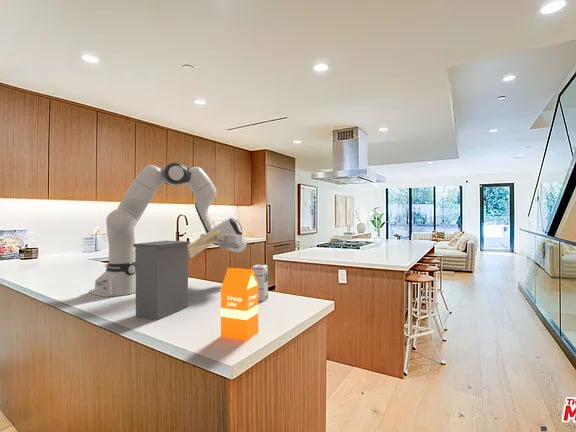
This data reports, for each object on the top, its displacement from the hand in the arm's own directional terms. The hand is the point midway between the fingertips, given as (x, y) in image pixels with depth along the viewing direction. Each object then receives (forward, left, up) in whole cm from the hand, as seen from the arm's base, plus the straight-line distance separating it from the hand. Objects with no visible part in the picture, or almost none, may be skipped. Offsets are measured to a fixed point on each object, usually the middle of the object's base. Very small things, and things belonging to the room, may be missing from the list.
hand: (211, 236), depth 147 cm
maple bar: (0, -6, -5) cm, 8 cm away
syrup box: (+26, -2, -27) cm, 37 cm away
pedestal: (0, -31, -26) cm, 40 cm away
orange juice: (+38, -40, -27) cm, 61 cm away
